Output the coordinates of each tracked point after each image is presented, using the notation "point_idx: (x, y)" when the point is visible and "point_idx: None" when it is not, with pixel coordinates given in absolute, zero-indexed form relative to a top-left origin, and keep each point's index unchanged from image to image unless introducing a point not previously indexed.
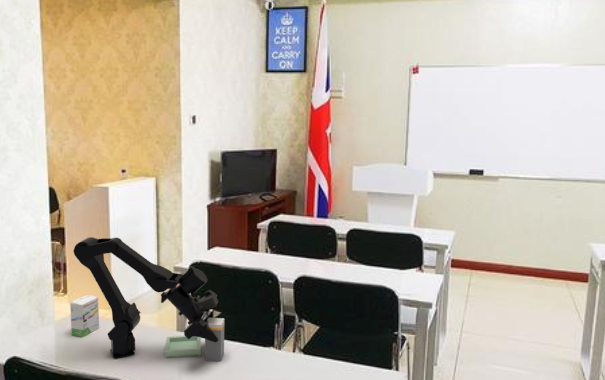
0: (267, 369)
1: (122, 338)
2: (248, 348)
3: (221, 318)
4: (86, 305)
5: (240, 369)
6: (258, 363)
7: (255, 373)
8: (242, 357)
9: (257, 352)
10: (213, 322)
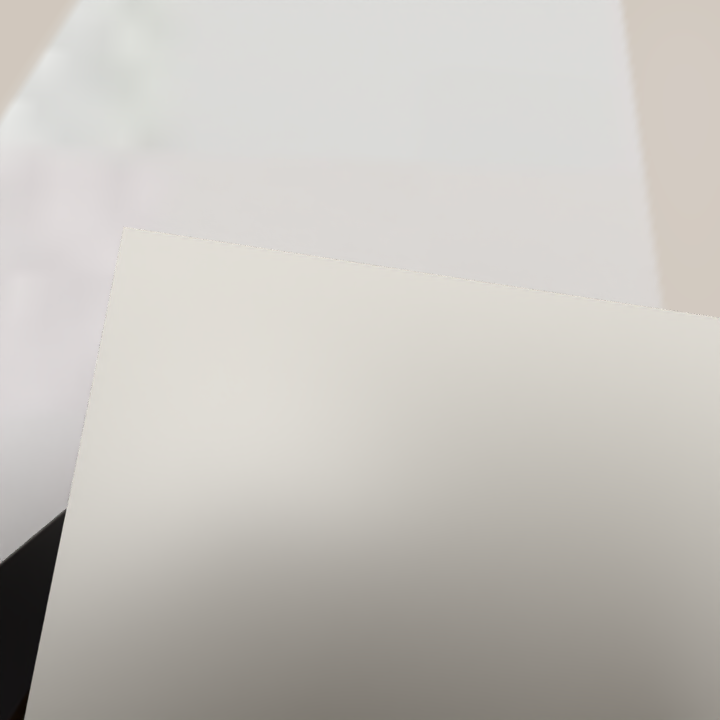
0: (541, 15)
1: None
2: (75, 153)
3: (128, 356)
4: None
5: (564, 244)
6: (436, 77)
7: (620, 116)
8: (308, 223)
9: (190, 66)
10: (626, 707)
